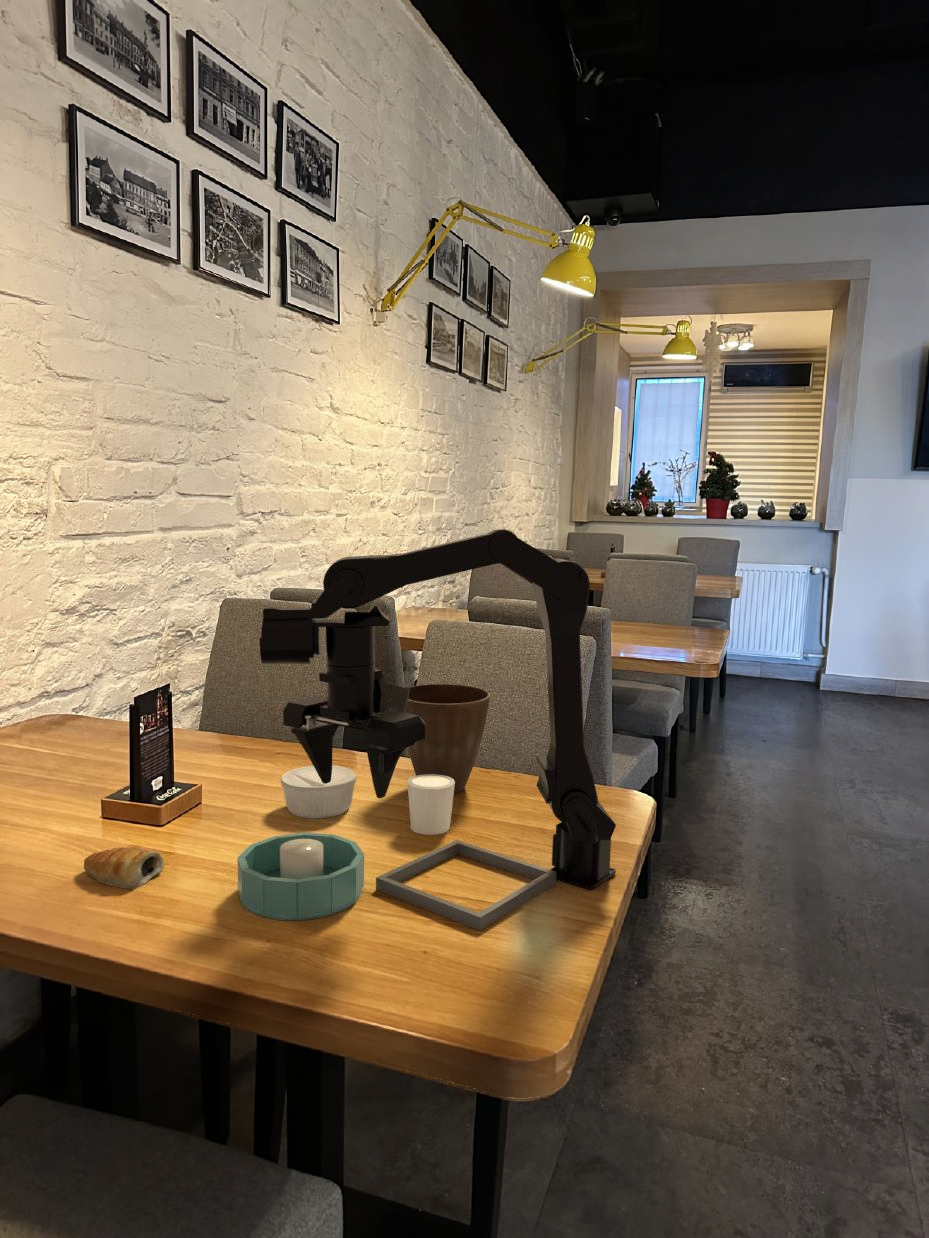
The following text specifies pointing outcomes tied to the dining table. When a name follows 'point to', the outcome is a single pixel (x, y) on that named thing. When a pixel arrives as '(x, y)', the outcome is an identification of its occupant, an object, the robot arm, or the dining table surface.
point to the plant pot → (448, 729)
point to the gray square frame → (456, 912)
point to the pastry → (124, 866)
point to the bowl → (305, 895)
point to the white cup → (430, 803)
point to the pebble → (301, 859)
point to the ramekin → (318, 792)
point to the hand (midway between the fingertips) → (353, 789)
